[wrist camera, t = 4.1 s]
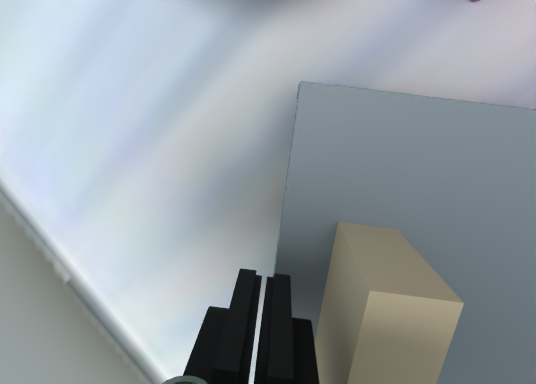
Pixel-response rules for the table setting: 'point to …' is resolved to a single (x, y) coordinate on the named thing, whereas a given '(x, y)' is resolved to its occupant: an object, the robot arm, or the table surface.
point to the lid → (412, 237)
